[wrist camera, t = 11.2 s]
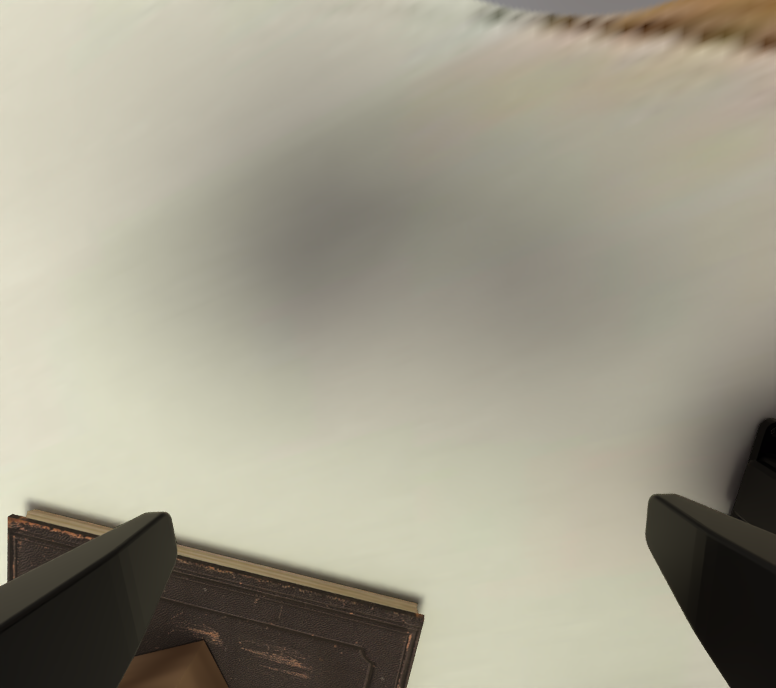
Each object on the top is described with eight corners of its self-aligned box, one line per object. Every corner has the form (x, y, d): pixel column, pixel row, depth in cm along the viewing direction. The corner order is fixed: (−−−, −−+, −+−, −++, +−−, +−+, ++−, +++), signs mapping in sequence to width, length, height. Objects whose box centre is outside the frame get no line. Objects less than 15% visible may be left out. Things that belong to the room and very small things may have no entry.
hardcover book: (43, 494, 26) (6, 517, 23) (424, 586, 24) (424, 620, 22) (37, 704, 29) (5, 742, 27) (371, 793, 28) (366, 841, 26)
